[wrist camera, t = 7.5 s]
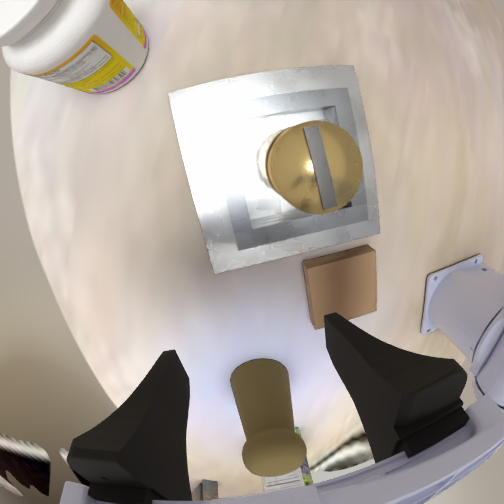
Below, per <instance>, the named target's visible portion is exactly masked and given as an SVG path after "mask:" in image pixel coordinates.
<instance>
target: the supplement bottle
mask: <svg viewBox="0 0 504 504" xmlns="http://www.w3.org/2000/svg"><path fill="white" fill-rule="evenodd" d="M0 47H2V51H3V56H4V59H5V61H6V62H7V64H8V65H9V66H10V67H11V68H12V69H13V70H15V71H17V72H19V73H23V74H26V75H30V76H34V77H38V78H41V79H45V80H48V81H51V82H55V83H58V84H61V85H65V86H68V87H71V88H74V89H77V90H80V91H83V92H87V93H92V94H103V93H108V92H111V91H113V90H116V89H118V88H120V87H121V86H123V85H125V84H126V83H127V82H129V81H130V80H131V79H132V78H133V77H134V76H135V75H136V74H137V72H138V71H139V70H140V68H141V67H142V65H143V63H144V61H145V59H146V56H147V52H148V38H147V35H146V32H145V31H144V29H143V27H142V26H141V24H140V23H139V22H138V20H137V19H136V18H135V16H134V15H133V13H132V12H131V11H130V9H129V8H128V7H127V5H126V4H125V3H124V1H123V0H0Z"/></svg>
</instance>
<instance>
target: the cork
mask: <svg viewBox="0 0 504 504" xmlns="http://www.w3.org/2000/svg"><path fill="white" fill-rule="evenodd" d="M230 382H231V387H232V391H233V394H234V398H235V402H236V405H237V409H238V412H239V416H240V419H241V422H242V426H243V429H244V433H245V436H246V439H247V441H246V442H245V444H244V446H243V451H242V457H243V462H244V464H245V467H246V468H247V469H248V470H249V471H250V472H251V473H253V474H255V475H258V476H263V477H275V476H281V475H285V474H288V473H291V472H293V471H295V470H296V469H298V468H299V467H300V466H301V465H302V464H303V463H304V461H305V459H306V451H307V448H306V445H305V443H304V441H303V440H302V438H301V437H300V435H299V434H297V433H296V432H295V429H294V420H293V410H292V401H291V393H290V384H289V375H288V371H287V369H286V367H285V366H284V365H283V364H281V363H280V362H278V361H275V360H272V359H256V360H251V361H248V362H246V363H243V364H242V365H240V366H239V367H237V368H236V369H235V371H234V372H233V373H232V375H231V379H230Z"/></svg>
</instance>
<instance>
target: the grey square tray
mask: <svg viewBox="0 0 504 504" xmlns="http://www.w3.org/2000/svg"><path fill="white" fill-rule="evenodd" d="M168 96H169V100H170V105H171V109H172V114H173V118H174V122H175V127H176V131H177V135H178V140H179V144H180V148H181V152H182V156H183V160H184V164H185V168H186V172H187V176H188V180H189V184H190V188H191V192H192V195H193V199H194V203H195V207H196V210H197V214H198V218H199V221H200V225H201V229H202V232H203V236H204V239H205V243H206V246H207V250H208V253H209V257H210V260H211V264H212V267H213V270H214V274H217V273H221V272H225V271H230V270H234V269H238V268H242V267H246V266H250V265H255V264H259V263H263V262H267V261H271V260H275V259H279V258H284V257H288V256H292V255H296V254H300V253H304V252H308V251H312V250H316V249H320V248H324V247H328V246H332V245H336V244H340V243H344V242H348V241H352V240H356V239H360V238H364V237H368V236H371V235H375V234H379V233H380V225H379V211H378V200H377V190H376V181H375V172H374V165H373V158H372V151H371V145H370V139H369V133H368V127H367V122H366V117H365V112H364V107H363V102H362V98H361V93H360V89H359V85H358V81H357V77H356V73H355V69H354V65H339V66H316V67H303V68H292V69H283V70H275V71H267V72H260V73H254V74H248V75H242V76H237V77H232V78H227V79H222V80H217V81H213V82H208V83H204V84H200V85H196V86H192V87H188V88H185V89H181V90H178V91H174V92H171V93H168ZM313 120H322V121H327V122H331V123H334V124H336V125H338V126H340V127H341V128H343V129H344V130H345V131H347V132H348V133H349V134H350V135H351V136H352V138H353V139H354V140H355V142H356V144H357V145H358V147H359V150H360V152H361V156H362V161H363V176H362V180H361V183H360V186H359V188H358V190H357V192H356V194H355V195H354V197H353V198H352V199H351V200H350V201H349V202H348V203H347V204H346V205H345V206H343V207H342V208H340V209H338V210H337V211H334V212H331V213H327V214H320V215H319V214H309V213H306V212H303V211H300V210H298V209H296V208H295V207H293V206H292V205H291V204H289V203H288V202H287V201H286V200H285V199H283V198H282V197H281V196H280V195H279V194H277V193H276V192H275V191H274V190H273V189H271V188H270V187H269V186H268V185H267V184H266V182H265V181H264V180H263V178H262V176H261V173H260V170H259V163H258V161H259V153H260V150H261V148H262V146H263V144H264V142H265V141H266V140H267V139H268V138H269V137H270V136H271V135H272V134H274V133H275V132H277V131H279V130H282V129H285V128H288V127H291V126H294V125H297V124H300V123H304V122H307V121H313Z"/></svg>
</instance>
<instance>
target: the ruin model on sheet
mask: <svg viewBox="0 0 504 504" xmlns="http://www.w3.org/2000/svg"><path fill="white" fill-rule="evenodd" d="M202 484H203V495H202ZM202 484H201V483H200V484H199V485H198V486H197V488H196V489H195V490H194V491H193V492H192V493H191V495H192V500H193V501H207V500H212V499H218V484H217V481H210V480H202Z"/></svg>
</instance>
